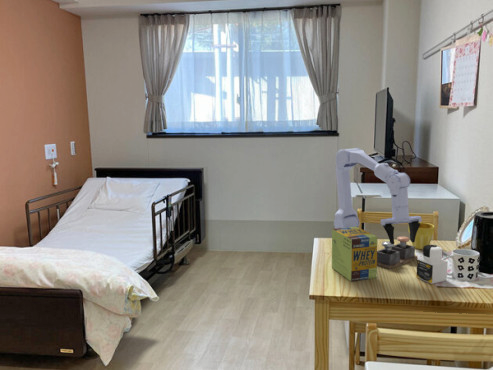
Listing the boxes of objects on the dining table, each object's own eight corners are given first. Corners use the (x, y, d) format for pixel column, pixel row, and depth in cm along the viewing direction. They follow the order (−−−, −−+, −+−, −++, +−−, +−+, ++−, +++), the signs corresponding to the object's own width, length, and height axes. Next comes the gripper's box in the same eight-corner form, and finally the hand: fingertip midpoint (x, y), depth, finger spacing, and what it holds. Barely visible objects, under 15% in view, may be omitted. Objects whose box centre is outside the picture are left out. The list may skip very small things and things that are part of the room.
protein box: (351, 282, 151) (351, 239, 148) (331, 267, 165) (331, 228, 163) (377, 278, 153) (378, 236, 151) (355, 264, 168) (356, 225, 165)
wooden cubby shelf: (389, 269, 161) (390, 256, 161) (372, 263, 168) (372, 251, 167) (417, 258, 172) (417, 246, 171) (399, 253, 178) (400, 242, 177)
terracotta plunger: (404, 250, 169) (404, 240, 168) (394, 247, 173) (395, 237, 172) (411, 247, 172) (411, 238, 171) (401, 245, 175) (401, 235, 174)
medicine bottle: (415, 277, 153) (417, 245, 151) (431, 274, 156) (432, 242, 154) (431, 284, 146) (433, 250, 144) (447, 280, 149) (448, 247, 147)
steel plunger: (389, 255, 163) (389, 245, 163) (379, 252, 167) (379, 242, 166) (396, 253, 166) (396, 243, 165) (386, 250, 169) (386, 240, 169)
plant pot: (423, 252, 179) (424, 229, 178) (402, 246, 188) (403, 224, 186) (438, 247, 185) (439, 225, 183) (417, 242, 193) (418, 221, 192)
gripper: (384, 209, 153) (386, 246, 154) (424, 205, 154) (426, 243, 155) (377, 207, 160) (380, 242, 161) (416, 203, 161) (418, 239, 162)
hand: (402, 242), depth 158 cm, fingers open, 7 cm apart
